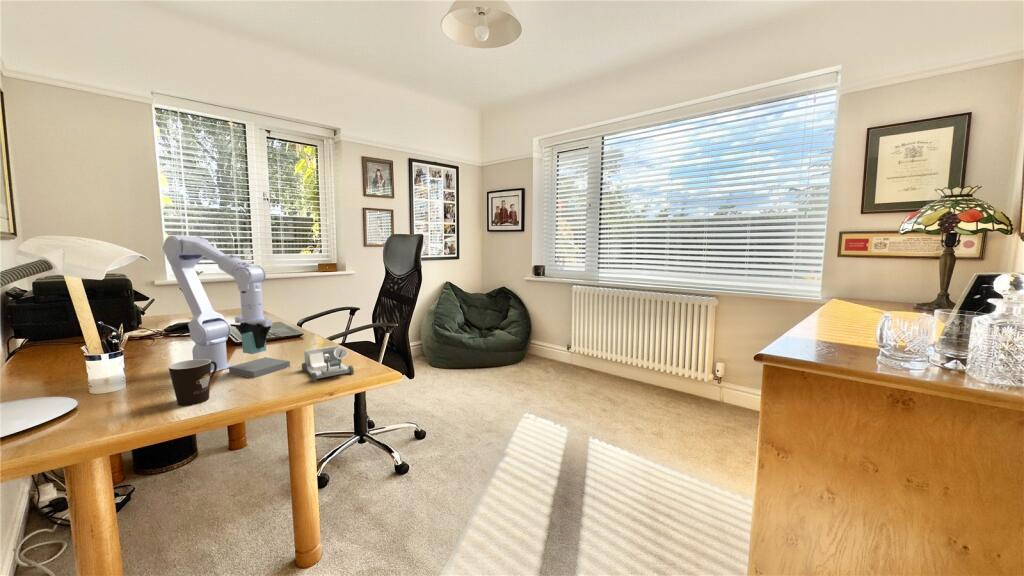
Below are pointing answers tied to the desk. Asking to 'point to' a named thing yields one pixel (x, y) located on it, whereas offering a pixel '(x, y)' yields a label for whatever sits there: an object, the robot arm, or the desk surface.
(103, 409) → the desk surface
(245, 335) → the teal block
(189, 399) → the coffee mug
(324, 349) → the toy car
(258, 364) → the slate base
